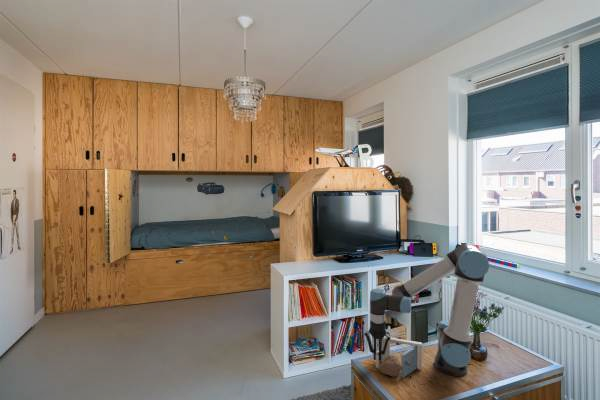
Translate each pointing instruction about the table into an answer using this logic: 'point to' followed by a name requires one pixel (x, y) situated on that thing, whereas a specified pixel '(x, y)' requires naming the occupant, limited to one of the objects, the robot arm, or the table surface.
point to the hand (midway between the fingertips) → (377, 366)
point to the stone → (390, 366)
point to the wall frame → (419, 344)
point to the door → (409, 361)
